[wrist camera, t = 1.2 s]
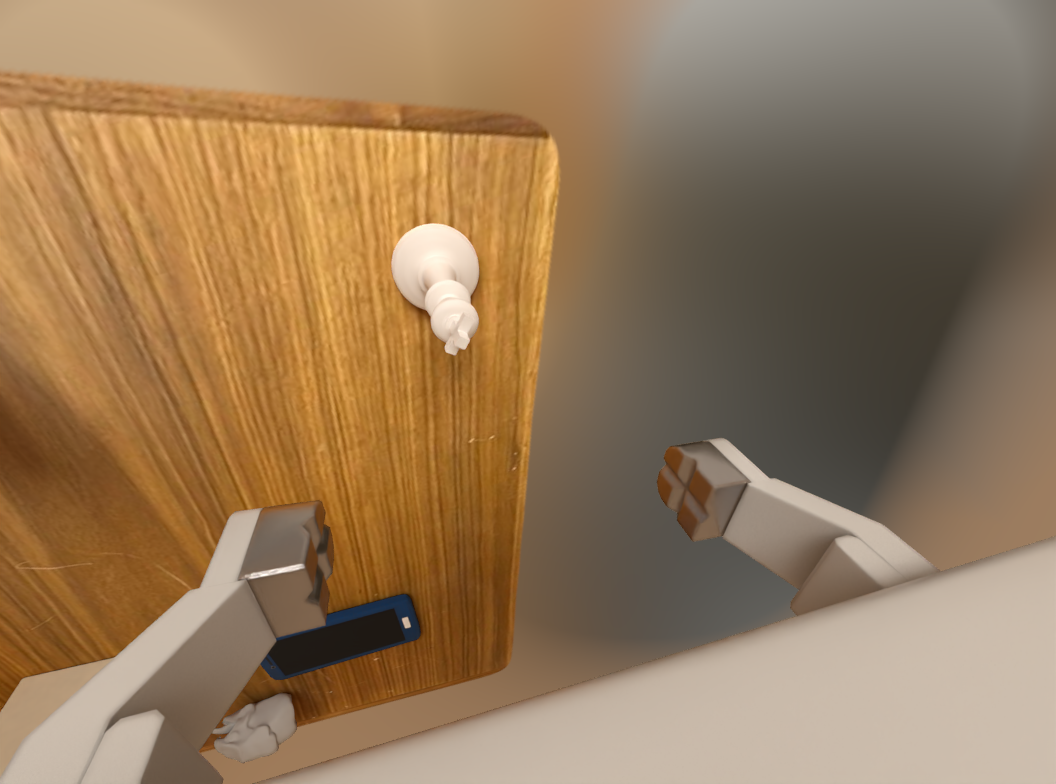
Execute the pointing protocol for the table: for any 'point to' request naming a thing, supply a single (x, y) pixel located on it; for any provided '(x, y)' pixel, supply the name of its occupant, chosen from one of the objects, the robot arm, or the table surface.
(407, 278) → the chess piece
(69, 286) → the table surface
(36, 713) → the block stack
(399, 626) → the cell phone
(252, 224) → the table surface
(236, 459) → the table surface
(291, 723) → the figurine
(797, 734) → the robot arm
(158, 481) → the table surface
